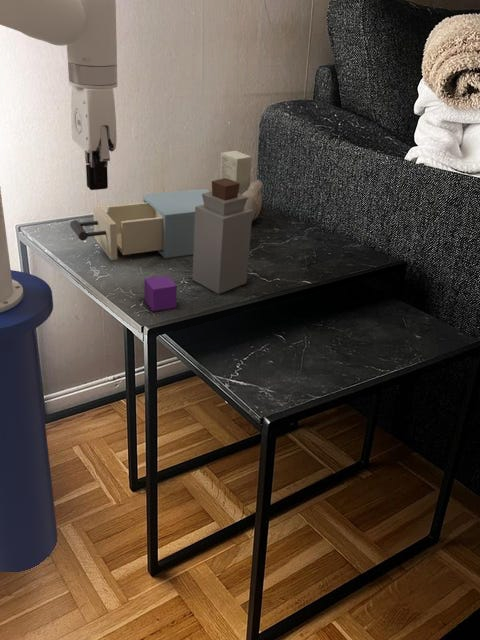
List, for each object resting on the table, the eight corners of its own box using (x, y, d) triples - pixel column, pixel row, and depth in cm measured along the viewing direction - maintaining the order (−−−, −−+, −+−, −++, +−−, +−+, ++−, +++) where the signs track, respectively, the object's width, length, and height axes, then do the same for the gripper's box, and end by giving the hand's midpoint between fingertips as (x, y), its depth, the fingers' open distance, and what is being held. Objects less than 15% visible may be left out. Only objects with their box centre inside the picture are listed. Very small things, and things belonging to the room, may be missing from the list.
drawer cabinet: (164, 258, 115) (165, 215, 110) (143, 235, 123) (142, 194, 119) (228, 249, 121) (231, 207, 116) (204, 228, 129) (206, 188, 125)
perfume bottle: (246, 283, 108) (255, 184, 99) (218, 293, 104) (225, 191, 95) (220, 269, 112) (226, 173, 103) (192, 279, 108) (196, 180, 99)
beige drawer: (83, 263, 108) (81, 227, 105) (68, 241, 116) (66, 207, 112) (175, 251, 116) (176, 217, 112) (155, 231, 123) (155, 198, 120)
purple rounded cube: (153, 311, 97) (153, 289, 95) (144, 300, 100) (144, 278, 98) (176, 307, 99) (177, 285, 97) (167, 296, 102) (167, 274, 100)
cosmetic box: (249, 209, 141) (253, 156, 135) (233, 212, 139) (237, 159, 133) (232, 200, 146) (235, 149, 139) (217, 203, 143) (220, 151, 137)
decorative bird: (222, 232, 128) (224, 198, 124) (244, 209, 141) (247, 177, 137) (247, 237, 127) (250, 202, 123) (266, 213, 140) (270, 181, 136)
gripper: (56, 67, 100) (63, 177, 110) (83, 84, 89) (89, 204, 98) (101, 67, 104) (104, 173, 113) (132, 83, 93) (133, 200, 102)
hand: (97, 187), depth 106 cm, fingers closed
